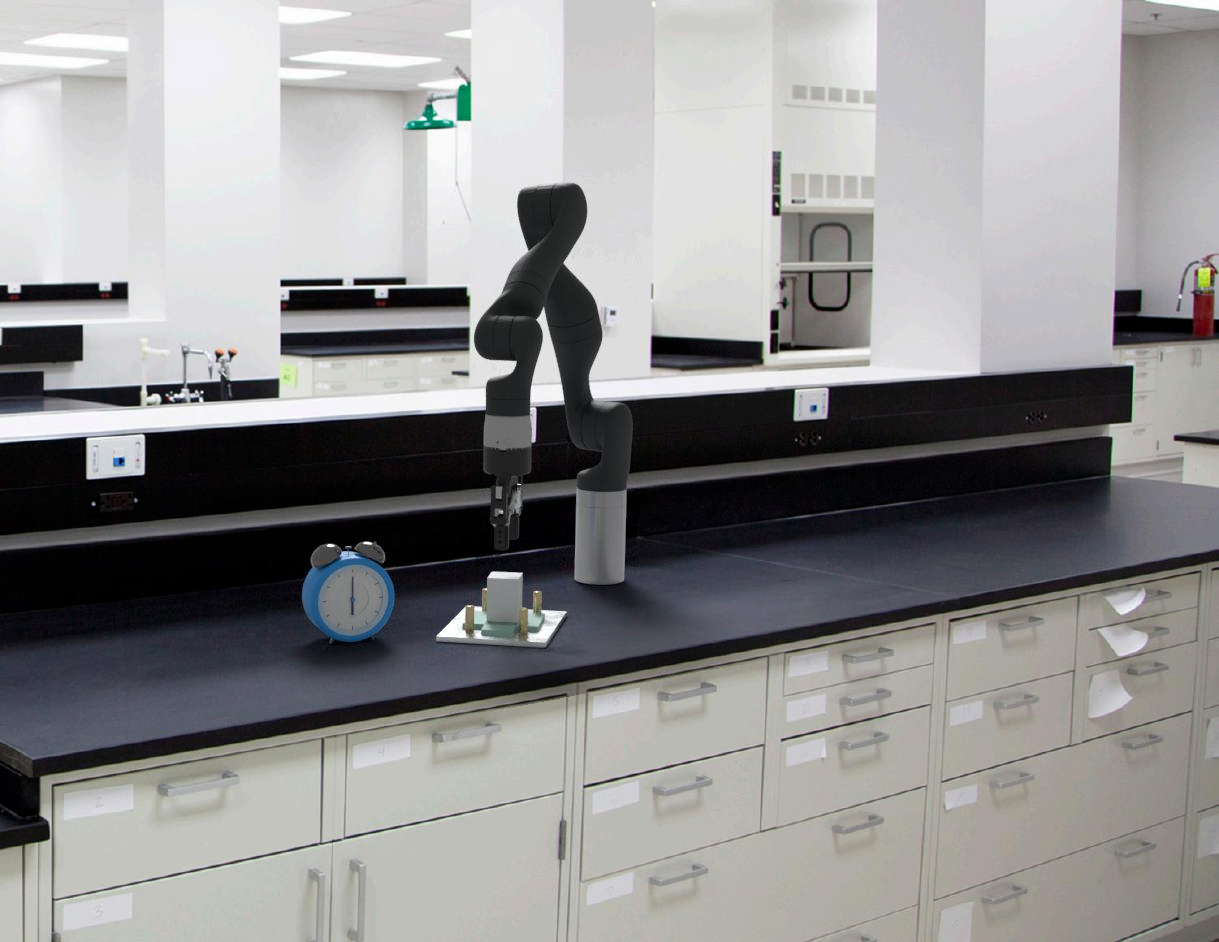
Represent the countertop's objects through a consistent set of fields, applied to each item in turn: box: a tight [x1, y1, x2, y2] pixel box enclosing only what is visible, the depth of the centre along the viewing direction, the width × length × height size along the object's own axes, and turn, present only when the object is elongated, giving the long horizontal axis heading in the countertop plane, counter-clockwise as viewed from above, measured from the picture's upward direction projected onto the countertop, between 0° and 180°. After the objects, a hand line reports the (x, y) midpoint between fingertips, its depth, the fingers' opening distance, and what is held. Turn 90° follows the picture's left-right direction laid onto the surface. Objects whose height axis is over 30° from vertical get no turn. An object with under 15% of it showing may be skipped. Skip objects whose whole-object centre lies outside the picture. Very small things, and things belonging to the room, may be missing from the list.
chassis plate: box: [435, 587, 568, 649], centre depth 240 cm, size 21×17×5 cm
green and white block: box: [462, 571, 545, 636], centre depth 240 cm, size 16×12×8 cm
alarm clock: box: [301, 541, 396, 645], centre depth 230 cm, size 13×6×15 cm, turn 116°
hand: (506, 544), depth 239 cm, fingers open, 8 cm apart
